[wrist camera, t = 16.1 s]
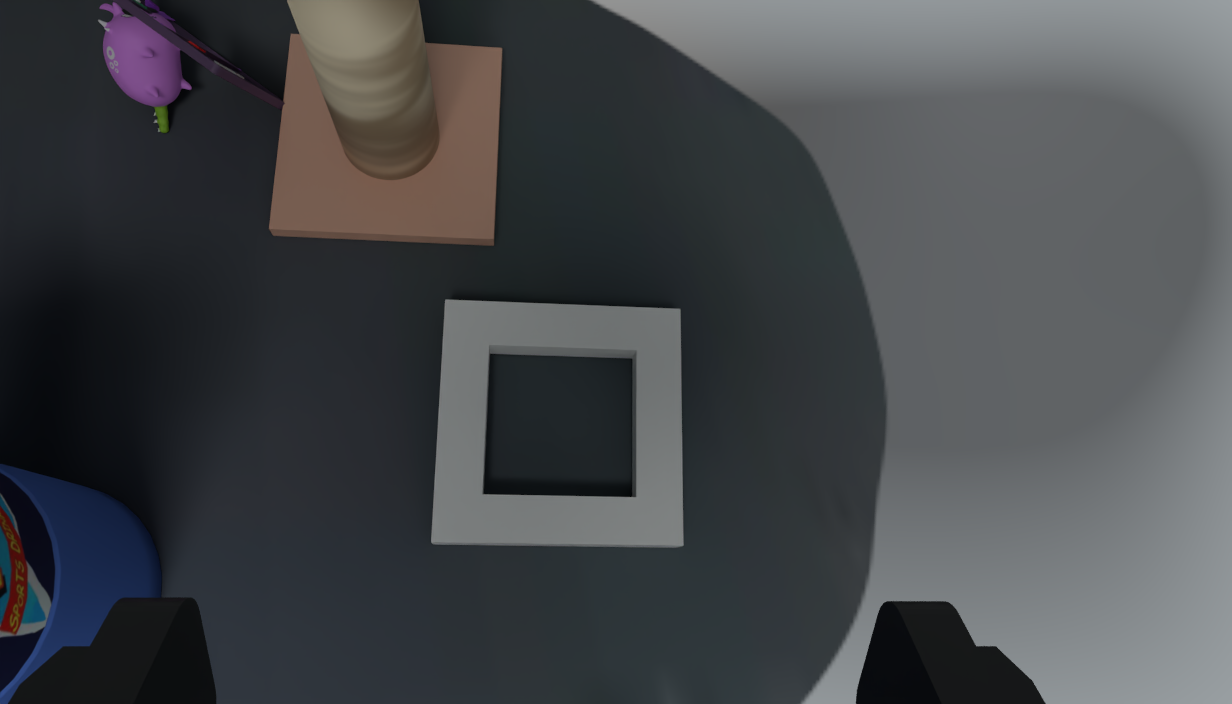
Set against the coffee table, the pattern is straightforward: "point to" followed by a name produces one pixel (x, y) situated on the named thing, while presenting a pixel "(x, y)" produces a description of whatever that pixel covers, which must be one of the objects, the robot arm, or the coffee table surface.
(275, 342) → the coffee table surface
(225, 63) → the purple toy figure
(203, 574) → the coffee table surface
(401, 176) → the birch peg
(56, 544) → the water bottle
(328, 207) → the terracotta tile
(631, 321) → the pocket block
